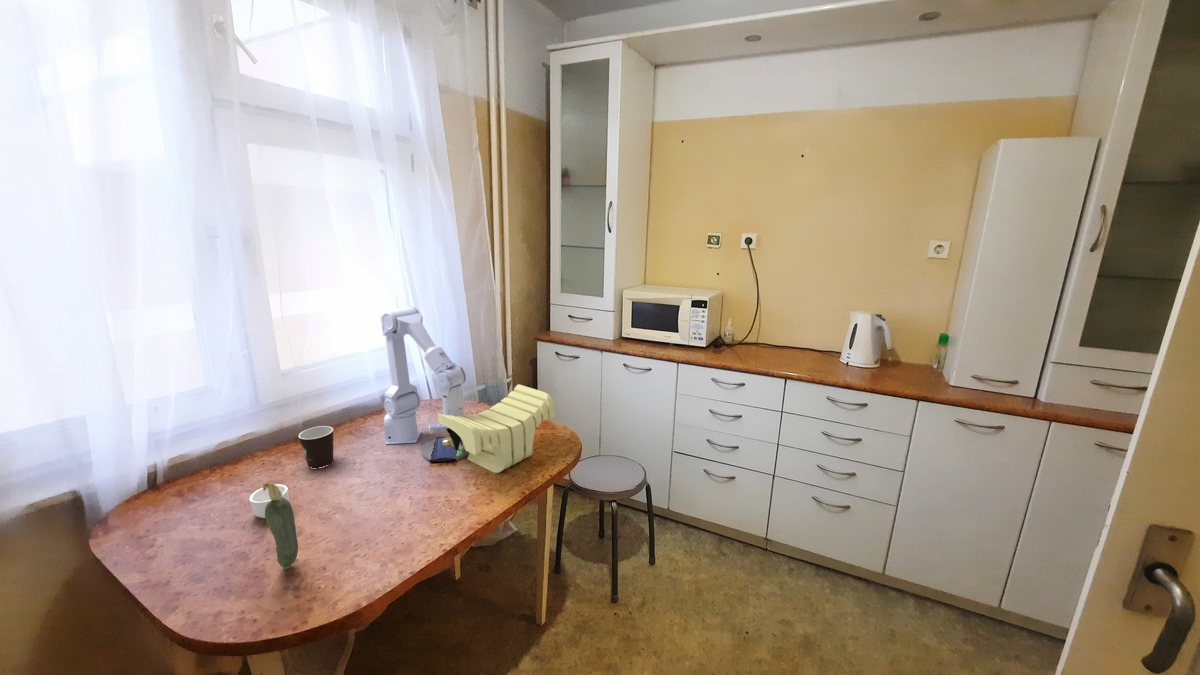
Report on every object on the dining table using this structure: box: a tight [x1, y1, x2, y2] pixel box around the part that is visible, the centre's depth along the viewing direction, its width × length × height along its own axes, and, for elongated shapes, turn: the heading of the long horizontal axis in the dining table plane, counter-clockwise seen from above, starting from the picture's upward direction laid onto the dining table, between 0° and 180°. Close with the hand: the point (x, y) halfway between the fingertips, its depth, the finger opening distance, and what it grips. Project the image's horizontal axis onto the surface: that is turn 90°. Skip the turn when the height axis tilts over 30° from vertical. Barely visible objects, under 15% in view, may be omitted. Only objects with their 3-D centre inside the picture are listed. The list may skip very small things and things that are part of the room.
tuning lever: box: [442, 437, 468, 452], centre depth 141 cm, size 10×4×5 cm, turn 61°
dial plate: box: [420, 435, 469, 461], centre depth 143 cm, size 16×16×1 cm
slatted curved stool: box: [437, 383, 555, 474], centre depth 136 cm, size 30×16×18 cm, turn 143°
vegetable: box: [262, 482, 299, 570], centre depth 91 cm, size 4×4×20 cm
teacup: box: [248, 483, 290, 519], centre depth 112 cm, size 10×8×5 cm
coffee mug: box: [298, 425, 334, 468], centre depth 134 cm, size 12×9×10 cm
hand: (456, 449), depth 138 cm, fingers closed
